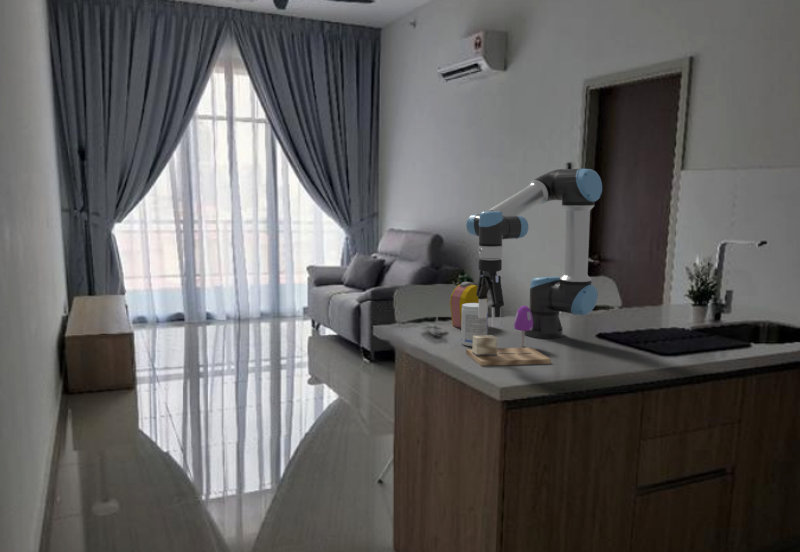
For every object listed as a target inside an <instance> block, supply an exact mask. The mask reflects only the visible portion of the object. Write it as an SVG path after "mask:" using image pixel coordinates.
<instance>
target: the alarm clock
mask: <svg viewBox="0 0 800 552" xmlns="http://www.w3.org/2000/svg"><path fill="white" fill-rule="evenodd" d="M477 287H478V285H477V284H476V283H474V282H471V281H462V282H461V283H460V284H458V285H457V286H456V287H455V288H454V289H453V290H452V293H451V294H450V299H449V305H450V313H451V323H452V324H451V325H452V327H456V328H460V329H461V320H462V305H463V304H466V303H479V299H478V296H477V295H476V293H477ZM484 299H487V303H488V302H489V301H488V297H487V298H484Z"/></svg>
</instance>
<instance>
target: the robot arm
mask: <svg viewBox="0 0 800 552" xmlns="http://www.w3.org/2000/svg"><path fill="white" fill-rule="evenodd" d="M602 193H603V183H602V179H601V177H600V175H599V174H598V172H597V171H595V170H594V169H591V168H567V169H565V168H564V169H563V168H562V169H561V168H560V169H559V168H558V169H554V170H551V171H548V172H546V173H544V174H542V175H540V176H538V177H536V178H534V179H532V180H531V181H529V183H528V184H527V186H526V187H525V188H523V189H521V190H520V191H518V192H517V193H515V194H513V195H511V196H510V197H508V198H507V199H504V200H503V201H502V202H500V203H498V204H496V205H494V206H492V208H490V209H488V210H484V211H482V212H480V213H477V214H471V215H470V216H469V217H468V218H467V220H466V224H465V225H466V227H465V228H466V230H467V232H468V234H469V235H472V236H476V237H478V248H477V252H478V257H479V259H478V271H479V278H478V284H477V286H478V287H477V293H476V295H477V296H478V299H479V308H478V318H487V306H488V302H487V301H488V293H490V298H491V301H492V305H491V327H492V328H500V327H501V321H502V320H501V317H502V307H504V306H505V304H504V303H505V302H504V296H503V289H502V288H503V287H502V280H501V279H502V277H501V275H497V272H501V271H502V268H503V267H502V266H503V265H502V263H503V262H502V261H503V259H501V258H503V240H509V239H510V240H512V239H514V240H517V239H520V238H524V237H525V236H527V234H528V231H529V223H528V221H527V218H526V217H524V216H522V215H523V214H524V213H525V212H527V211H529V210H530V209H532V208H534V207H535V206H537V205H543V204H545V203H547V202H551V201H561V206H562V208H563V209H564V210H565V226H564V227H565V230H564V231H565V232H564V233H565V234H564V256H563V257H564V259H563V261H564V262H563V263H564V264H563V274H562V275H561V276H544V277H543V276H540V277H534V278H532V279H531V280H530V286H529V287H530V288H529V307H528V308H529V309H530V311H531V313H532V317H533V329H532V330H530V331H525V332H524V336H525V335H526V336H527V337H531V338H538V339H559V338H562V337H564V335H563V334H564V330H563V326H562V322H561V318H560V312H561V313H565V314H572V315H575V316H577V315H578V316H587V315H589V314H590V313H591V312H592V311H593V310H594V309H595V306H596V304H597V302H598V298H599V297H598V290H597V288H596V287H597V286H594V285H593V284H592V278H591V277H590V276H589V275H588V273H589V272H588V270H589V269H588V268H589V248H590V247H589V244H590V242H589V241H590V222H591V221H590V220H591V217H590V216H591V211H592V209H593V208H594V207H595V206H596V205H595V202H597V201H598V200H599V199H600V198H601V196H602ZM484 298H487V299H484Z"/></svg>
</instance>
